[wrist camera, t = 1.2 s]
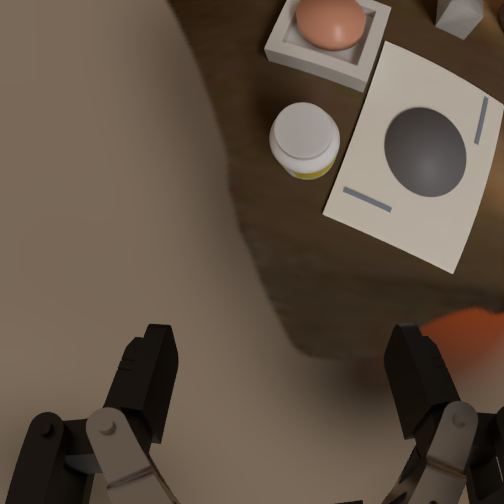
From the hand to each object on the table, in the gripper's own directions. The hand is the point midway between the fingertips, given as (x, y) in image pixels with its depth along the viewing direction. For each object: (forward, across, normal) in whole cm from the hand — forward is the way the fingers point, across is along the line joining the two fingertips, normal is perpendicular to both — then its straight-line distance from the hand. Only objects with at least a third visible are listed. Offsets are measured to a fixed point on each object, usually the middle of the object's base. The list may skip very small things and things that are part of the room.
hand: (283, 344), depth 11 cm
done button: (+25, -6, -14) cm, 29 cm away
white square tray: (+27, -6, -13) cm, 31 cm away
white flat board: (+21, -15, -2) cm, 26 cm away
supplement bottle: (+23, -4, -1) cm, 23 cm away
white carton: (+27, -21, -20) cm, 40 cm away
